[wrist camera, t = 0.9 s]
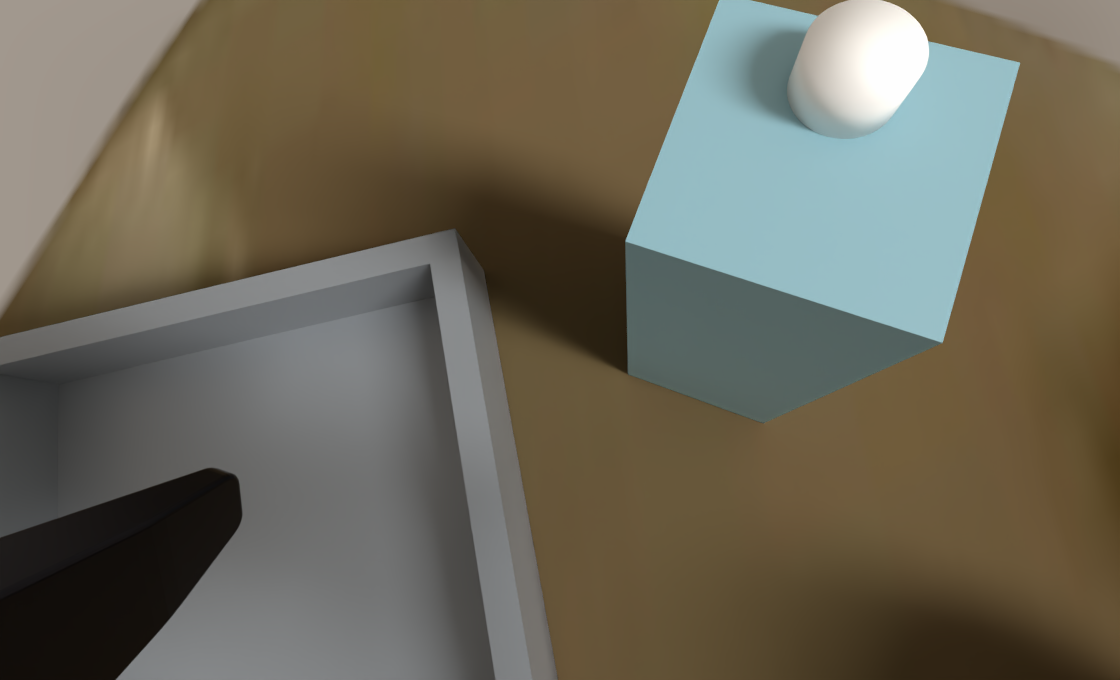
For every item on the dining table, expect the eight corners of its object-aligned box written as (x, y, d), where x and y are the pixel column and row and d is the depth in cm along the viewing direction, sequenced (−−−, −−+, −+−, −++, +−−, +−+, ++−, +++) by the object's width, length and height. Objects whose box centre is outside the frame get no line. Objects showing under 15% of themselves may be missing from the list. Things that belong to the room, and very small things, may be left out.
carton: (763, 423, 21) (981, 325, 8) (627, 374, 22) (624, 215, 9) (805, 294, 22) (1062, 16, 9) (673, 252, 23) (731, -54, 10)
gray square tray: (571, 757, 19) (557, 826, 15) (54, 851, 20) (-81, 937, 17) (483, 270, 24) (455, 228, 20) (58, 369, 25) (-48, 348, 21)
